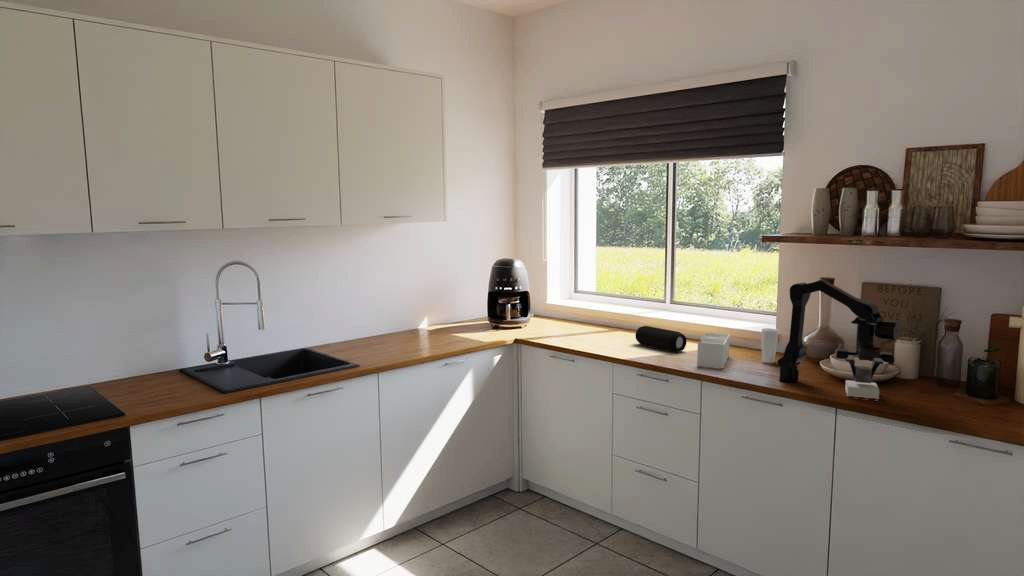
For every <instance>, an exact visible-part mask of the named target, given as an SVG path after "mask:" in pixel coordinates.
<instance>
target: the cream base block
mask: <svg viewBox="0 0 1024 576" xmlns="http://www.w3.org/2000/svg"><path fill="white" fill-rule="evenodd" d="M845 390H846V391H845ZM844 391H845V394H846V393H847V394H846V396H854V397H864V398H876V399H879V400H880V388H879V386H878V385H877V383H876V382H873V381H871V383H861V382H855V380H848V379H846V380H845V389H844Z"/></svg>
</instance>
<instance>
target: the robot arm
mask: <svg viewBox="0 0 1024 576" xmlns="http://www.w3.org/2000/svg"><path fill="white" fill-rule="evenodd" d="M815 292H822V293H823V294H825V295H827V296H828V297H830V298H832V299H834V300H835V301H837V302H839V303H841V304H842V305H844V306H846V307H847V308H849V310H850V311H851V312H852V313H853V314H854V315H855V316H857V317H855V318H854V319H853V320H852V321H851V322H850V323H851V324H855V325H856V340H855V351H849V349H848V348H838V347H837V348H836V349H835V350H834V351H835V352H834V354H835V355H834V356H835V358H836V359H841V360H844V361H845V362H848V363H849V367H850V368H851V372H852V376H853V379H854V378H855V366H856V363H855V362H856V361H855V359H854V358H858V360H859V361H869V362H871V366H870V368H871V369H872V374H871V380H872V379H873V377H874V375H875V373H876V371H877V369H878V367H879V366H880V365H884V363H888V364H889V363H891V364H894V363H895V355H894V354H893V353H892V352H890V351H882V350H881V349H882V348H881V347H879V346H876V347H875V337H876V338H877V339H879V340H884V341H885V340H886V341H891V342H892V341H893V342H896V341H898V340H899V336H900V328H899V325H898V321H893V320H892V321H888V320H885V319H884V318H883V316H882V315H881V314H880V312H879V307H878V305H877V304H876V303H874V302H872V301H870V300H869V301H868V300H866V299H862V298H859V297H856V296H854V295H852V294H851V293H848V292H847V291H845V290H843V289H842V288H839V287H838V286H836V285H834V284H833V283H831V282H829V281H828V280H827V279H818V280H816V281H813V282H810V283H807V282H797V283H794V284H792V285H791V286H790V288H789V298H790V299H789V300H790V302H791V305H792V310H791V321H790V329H789V331H790V332H789V340H788V342H787V344H786V347H785V348H784V353H783V356H782V357H780V358H779V359H778V360H777V361H776V362H777V366H778V367H779V377H778V380H779V382H782V381H785V382H784V383H792V382H795V384H797V383H798V381H799V374H800V373H799V371H800V369H798V366H799V365H800V364H801V362H802V361H803V360H805V357H807V356H808V354H807V350H808V345H804V342H803V336H804V335H803V334H804V325H805V323H804V322H805V315H806V307H807V304H808V302H809V300H810V298H811V294H812V293H815Z"/></svg>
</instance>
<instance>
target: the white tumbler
mask: <svg viewBox="0 0 1024 576" xmlns="http://www.w3.org/2000/svg"><path fill="white" fill-rule="evenodd" d="M760 335H761V336H760V337H761V340H760V341H761V362H762V363H764V364H767V365H768V364H772V365H773V364H774V363H775V360H776V354H777V353H776V351H777V346H778V345H777V344H778V337H779V330H778V329H776V328H768V327H767V328H762V329H761V334H760Z"/></svg>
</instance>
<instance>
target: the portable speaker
mask: <svg viewBox="0 0 1024 576" xmlns="http://www.w3.org/2000/svg"><path fill="white" fill-rule="evenodd" d="M635 340H636V341H637V343H639V344H640V345H642V346H644V345H645V347H649V346H650V348H653V347H655V348H654V349H658V348H659V349H658V350H662V349H663V351H667V350H668V352H671V351H672V353H679V352H682V351H683V350H685V348H686V345H687V338H686V336H685V334H684V333H682V332H680V331H676V330H671V329H665V328H661V327H660V328H659V327H653V326H650V325H644V326H640V327H638V328H637V330H636V331H635Z"/></svg>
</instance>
